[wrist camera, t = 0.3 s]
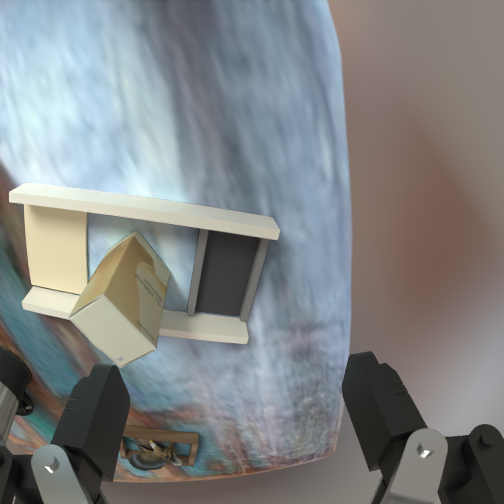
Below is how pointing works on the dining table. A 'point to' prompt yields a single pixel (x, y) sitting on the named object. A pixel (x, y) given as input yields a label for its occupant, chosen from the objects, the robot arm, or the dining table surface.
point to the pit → (226, 273)
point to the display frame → (161, 436)
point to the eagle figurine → (155, 457)
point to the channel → (151, 211)
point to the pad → (57, 247)
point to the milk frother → (12, 391)
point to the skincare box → (124, 301)
